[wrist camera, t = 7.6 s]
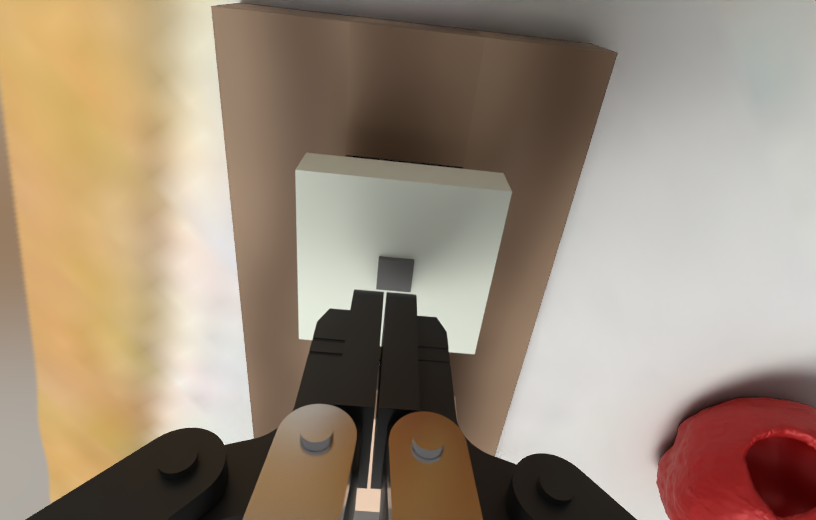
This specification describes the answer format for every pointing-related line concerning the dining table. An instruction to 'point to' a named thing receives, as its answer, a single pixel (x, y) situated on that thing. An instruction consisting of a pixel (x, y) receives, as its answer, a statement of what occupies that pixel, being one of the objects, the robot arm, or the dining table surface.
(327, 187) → the key one
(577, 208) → the dining table surface
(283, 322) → the key board
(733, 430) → the pomegranate
